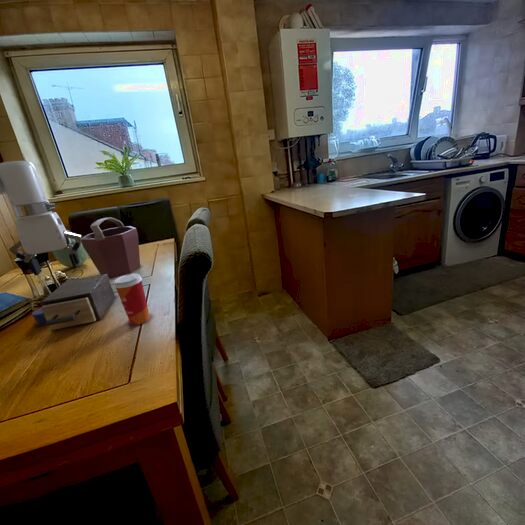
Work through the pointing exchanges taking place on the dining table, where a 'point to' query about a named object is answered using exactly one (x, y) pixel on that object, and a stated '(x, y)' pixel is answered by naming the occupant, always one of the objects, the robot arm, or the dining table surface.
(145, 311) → the paper cup
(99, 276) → the cabinet
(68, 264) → the cabbage
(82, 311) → the drawer
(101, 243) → the bucket
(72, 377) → the dining table surface
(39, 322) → the blue cylinder can
